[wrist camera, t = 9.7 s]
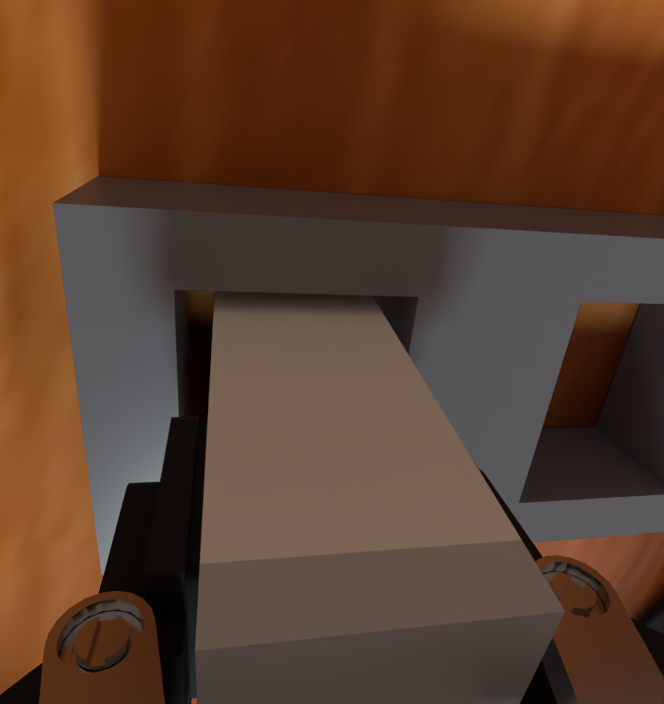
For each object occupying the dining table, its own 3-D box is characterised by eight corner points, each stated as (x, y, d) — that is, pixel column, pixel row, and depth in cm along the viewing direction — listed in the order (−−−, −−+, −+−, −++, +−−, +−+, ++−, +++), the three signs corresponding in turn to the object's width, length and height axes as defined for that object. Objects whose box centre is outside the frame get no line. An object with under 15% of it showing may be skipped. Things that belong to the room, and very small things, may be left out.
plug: (363, 281, 14) (565, 610, 6) (343, 426, 17) (464, 813, 8) (215, 276, 14) (194, 650, 5) (216, 430, 16) (203, 862, 7)
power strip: (727, 219, 18) (877, 255, 14) (629, 459, 22) (721, 541, 18) (97, 176, 14) (43, 208, 10) (126, 480, 18) (96, 593, 14)
